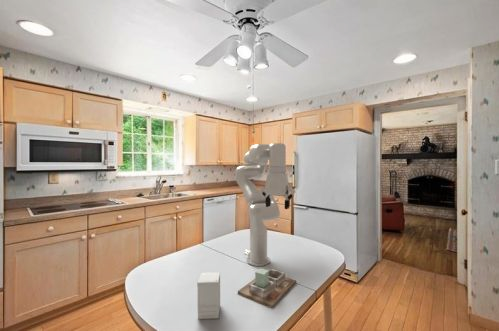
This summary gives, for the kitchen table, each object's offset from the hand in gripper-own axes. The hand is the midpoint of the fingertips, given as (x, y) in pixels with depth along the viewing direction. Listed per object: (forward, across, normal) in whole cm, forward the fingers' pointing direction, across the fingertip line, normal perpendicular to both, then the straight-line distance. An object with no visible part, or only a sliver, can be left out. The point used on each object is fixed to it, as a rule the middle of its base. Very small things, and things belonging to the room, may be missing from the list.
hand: (277, 207), depth 103 cm
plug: (+32, 0, -13) cm, 35 cm away
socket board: (+33, 0, -8) cm, 34 cm away
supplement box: (+34, -9, -34) cm, 49 cm away
